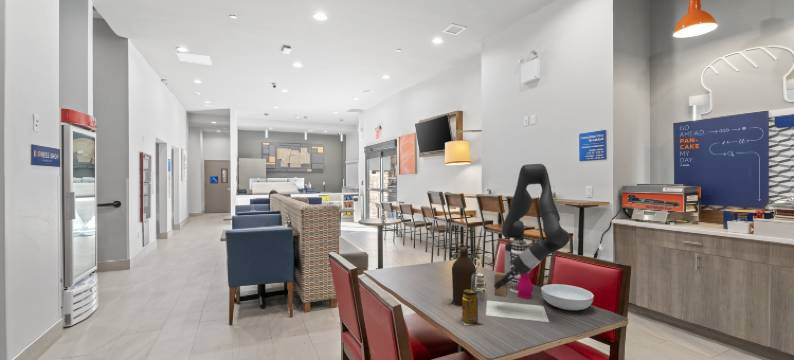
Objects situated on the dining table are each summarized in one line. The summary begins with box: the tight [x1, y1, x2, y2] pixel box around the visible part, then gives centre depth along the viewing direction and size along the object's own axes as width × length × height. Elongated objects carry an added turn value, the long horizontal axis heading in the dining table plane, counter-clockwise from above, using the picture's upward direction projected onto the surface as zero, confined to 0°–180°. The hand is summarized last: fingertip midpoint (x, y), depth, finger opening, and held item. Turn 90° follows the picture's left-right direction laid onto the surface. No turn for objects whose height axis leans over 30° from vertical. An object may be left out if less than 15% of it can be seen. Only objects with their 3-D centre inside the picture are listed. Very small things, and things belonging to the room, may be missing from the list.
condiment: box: [460, 289, 483, 326], centre depth 142 cm, size 7×8×12 cm
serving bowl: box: [540, 283, 595, 311], centre depth 160 cm, size 21×21×7 cm
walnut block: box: [493, 272, 508, 298], centre depth 156 cm, size 4×5×9 cm
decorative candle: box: [509, 239, 529, 294], centre depth 181 cm, size 9×9×25 cm
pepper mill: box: [517, 270, 534, 300], centre depth 171 cm, size 7×7×20 cm
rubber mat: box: [485, 300, 550, 323], centre depth 153 cm, size 18×24×1 cm
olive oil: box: [451, 246, 477, 307], centre depth 162 cm, size 11×11×25 cm
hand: (496, 285), depth 157 cm, fingers closed on walnut block, 4 cm apart
